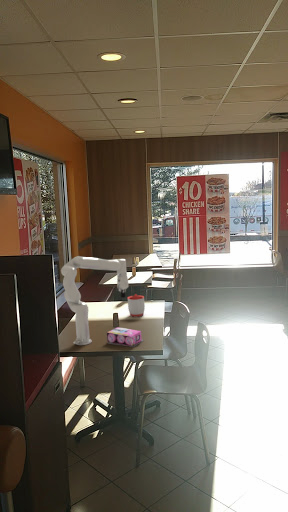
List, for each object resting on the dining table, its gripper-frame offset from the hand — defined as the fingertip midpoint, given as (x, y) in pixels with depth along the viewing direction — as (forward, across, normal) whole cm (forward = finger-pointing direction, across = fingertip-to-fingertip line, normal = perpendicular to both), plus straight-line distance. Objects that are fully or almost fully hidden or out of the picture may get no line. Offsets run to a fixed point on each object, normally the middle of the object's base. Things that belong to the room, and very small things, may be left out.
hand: (123, 297), depth 342 cm
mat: (+29, -20, -12) cm, 37 cm away
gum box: (+25, -13, -12) cm, 30 cm away
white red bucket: (+29, +48, +17) cm, 59 cm away
